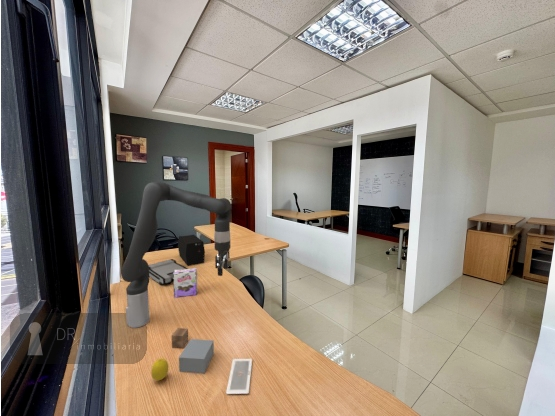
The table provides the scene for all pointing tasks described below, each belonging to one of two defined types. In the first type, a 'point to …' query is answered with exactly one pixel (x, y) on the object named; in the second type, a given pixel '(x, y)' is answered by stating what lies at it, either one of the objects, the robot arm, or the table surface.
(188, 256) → the uninterruptible power supply
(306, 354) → the table surface
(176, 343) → the walnut block
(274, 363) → the table surface
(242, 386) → the touchpad
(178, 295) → the candy box
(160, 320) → the table surface
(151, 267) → the game console
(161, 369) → the lemon
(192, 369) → the base block
